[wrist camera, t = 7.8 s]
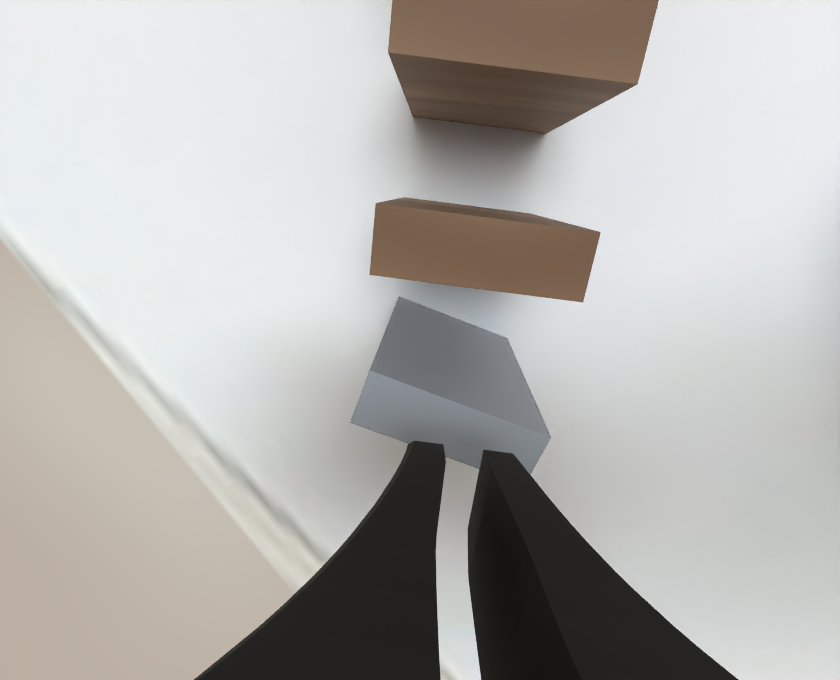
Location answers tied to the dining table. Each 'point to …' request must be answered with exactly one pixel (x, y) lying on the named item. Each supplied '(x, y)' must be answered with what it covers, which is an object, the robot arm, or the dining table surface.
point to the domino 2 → (481, 248)
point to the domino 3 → (450, 389)
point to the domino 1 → (517, 57)
